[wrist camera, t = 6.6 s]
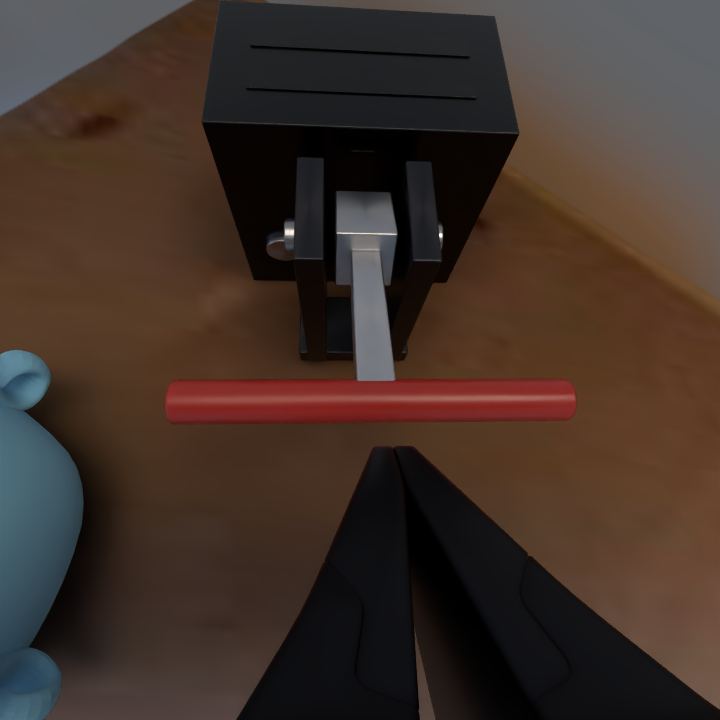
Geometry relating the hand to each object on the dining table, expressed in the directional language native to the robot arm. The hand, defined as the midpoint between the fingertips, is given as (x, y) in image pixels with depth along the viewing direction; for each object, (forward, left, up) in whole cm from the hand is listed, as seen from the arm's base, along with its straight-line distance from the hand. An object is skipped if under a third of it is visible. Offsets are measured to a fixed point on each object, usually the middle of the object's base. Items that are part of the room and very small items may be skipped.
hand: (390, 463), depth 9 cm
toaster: (+8, -14, -14) cm, 21 cm away
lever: (+3, -5, -5) cm, 7 cm away
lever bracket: (+4, -8, -14) cm, 16 cm away
